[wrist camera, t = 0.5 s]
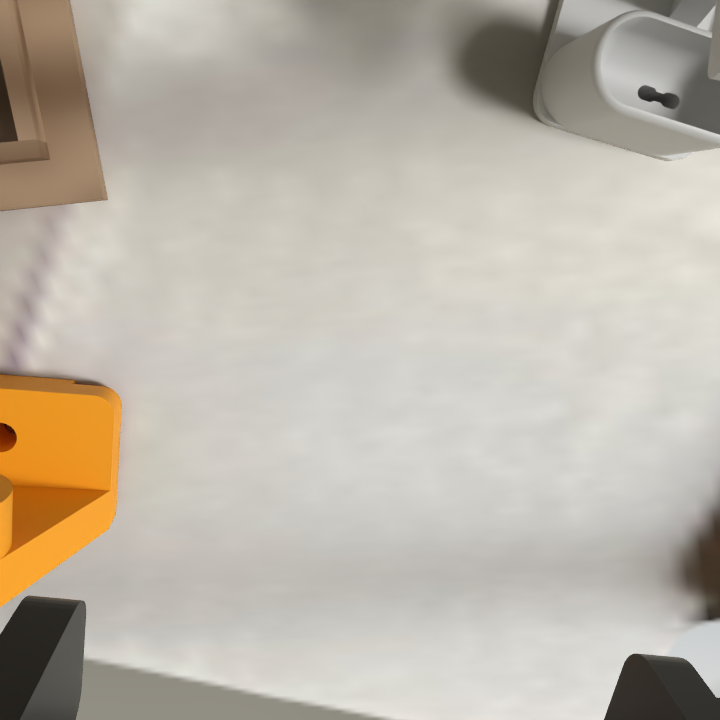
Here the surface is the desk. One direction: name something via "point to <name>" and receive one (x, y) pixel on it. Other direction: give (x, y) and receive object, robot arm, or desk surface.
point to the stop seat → (44, 110)
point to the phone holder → (634, 74)
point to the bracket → (53, 473)
